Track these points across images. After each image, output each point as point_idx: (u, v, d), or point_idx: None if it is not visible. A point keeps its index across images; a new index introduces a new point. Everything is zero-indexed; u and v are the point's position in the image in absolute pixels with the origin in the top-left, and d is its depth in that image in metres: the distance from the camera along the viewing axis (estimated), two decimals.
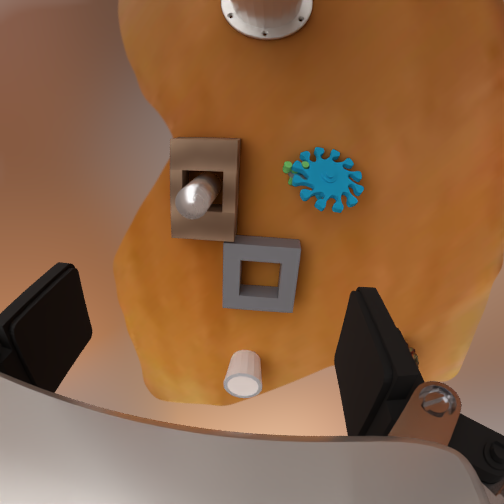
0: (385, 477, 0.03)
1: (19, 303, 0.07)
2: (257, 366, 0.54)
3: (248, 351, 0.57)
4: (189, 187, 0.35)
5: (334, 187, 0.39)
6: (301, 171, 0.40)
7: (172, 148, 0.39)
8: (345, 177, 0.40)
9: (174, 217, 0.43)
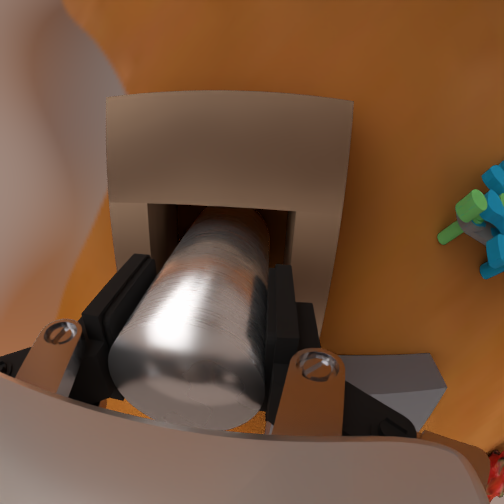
0: (385, 477, 0.03)
1: (108, 293, 0.08)
2: None
3: None
4: (164, 328, 0.06)
5: None
6: (500, 223, 0.11)
7: (113, 128, 0.10)
8: None
9: None
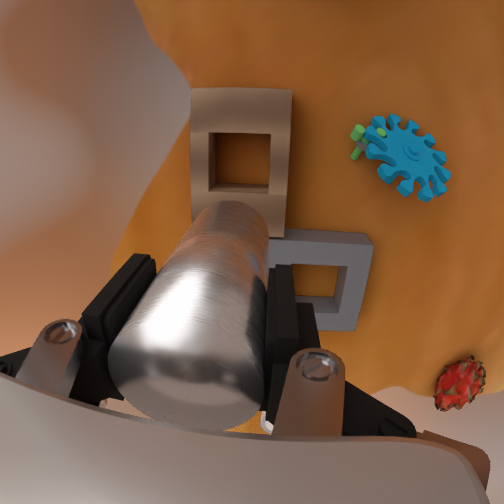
0: (385, 477, 0.03)
1: (108, 293, 0.08)
2: None
3: None
4: (163, 328, 0.06)
5: (419, 167, 0.26)
6: (376, 140, 0.26)
7: (194, 101, 0.26)
8: (429, 156, 0.26)
9: (196, 202, 0.30)
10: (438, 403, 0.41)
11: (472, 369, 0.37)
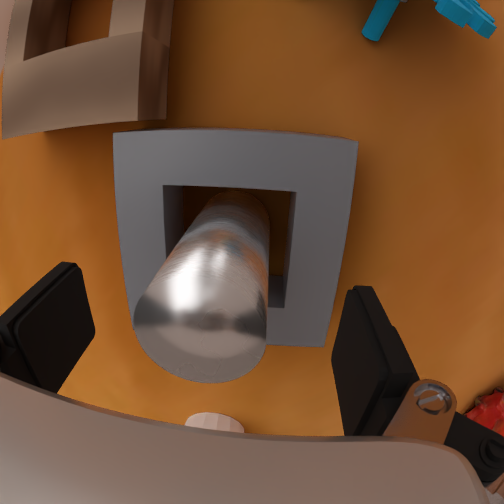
0: (385, 477, 0.03)
1: (22, 302, 0.07)
2: None
3: (218, 416, 0.25)
4: (185, 281, 0.08)
5: None
6: None
7: None
8: None
9: (8, 85, 0.11)
10: None
11: None
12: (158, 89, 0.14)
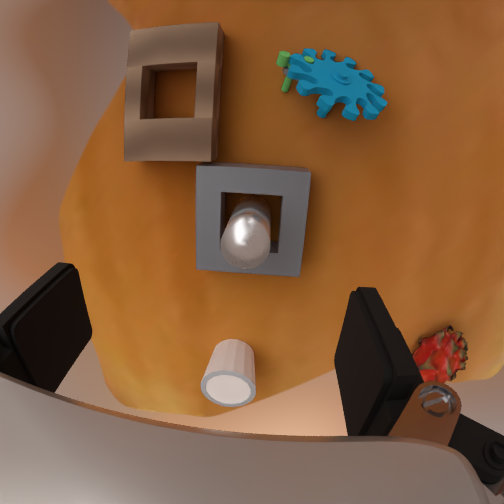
0: (385, 477, 0.03)
1: (19, 303, 0.07)
2: (249, 361, 0.38)
3: (237, 341, 0.41)
4: (242, 224, 0.25)
5: (347, 89, 0.24)
6: (301, 65, 0.25)
7: (132, 41, 0.24)
8: (362, 85, 0.25)
9: (128, 131, 0.28)
10: None
11: (450, 339, 0.34)
12: (215, 143, 0.31)
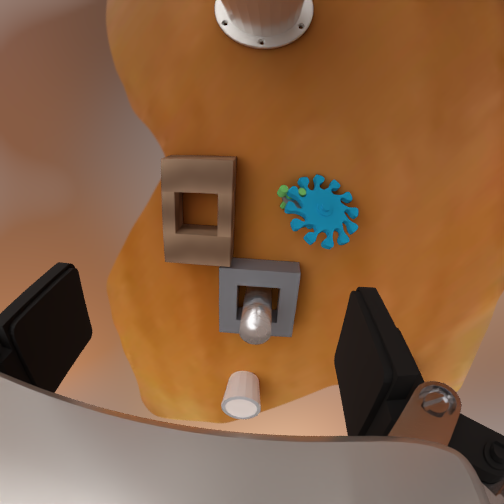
0: (385, 477, 0.03)
1: (19, 303, 0.07)
2: (255, 388, 0.52)
3: (246, 372, 0.55)
4: (253, 320, 0.38)
5: (328, 221, 0.38)
6: (296, 198, 0.38)
7: (163, 168, 0.37)
8: (341, 212, 0.39)
9: (167, 241, 0.41)
10: None
11: None
12: (232, 248, 0.44)
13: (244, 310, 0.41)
